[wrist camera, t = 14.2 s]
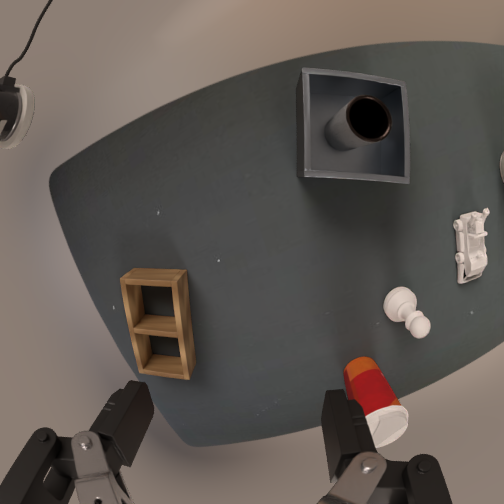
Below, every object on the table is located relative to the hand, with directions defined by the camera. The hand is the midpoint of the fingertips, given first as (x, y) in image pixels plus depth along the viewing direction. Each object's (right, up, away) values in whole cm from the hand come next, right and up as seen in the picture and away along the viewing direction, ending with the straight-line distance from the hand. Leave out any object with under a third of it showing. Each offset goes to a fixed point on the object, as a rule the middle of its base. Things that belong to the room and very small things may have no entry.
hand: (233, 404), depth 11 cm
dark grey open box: (+12, +21, +21) cm, 32 cm away
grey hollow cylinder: (+12, +21, +20) cm, 32 cm away
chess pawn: (+22, -1, +26) cm, 34 cm away
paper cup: (+18, -12, +30) cm, 37 cm away
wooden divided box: (-12, -3, +29) cm, 32 cm away
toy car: (+34, +8, +23) cm, 42 cm away
